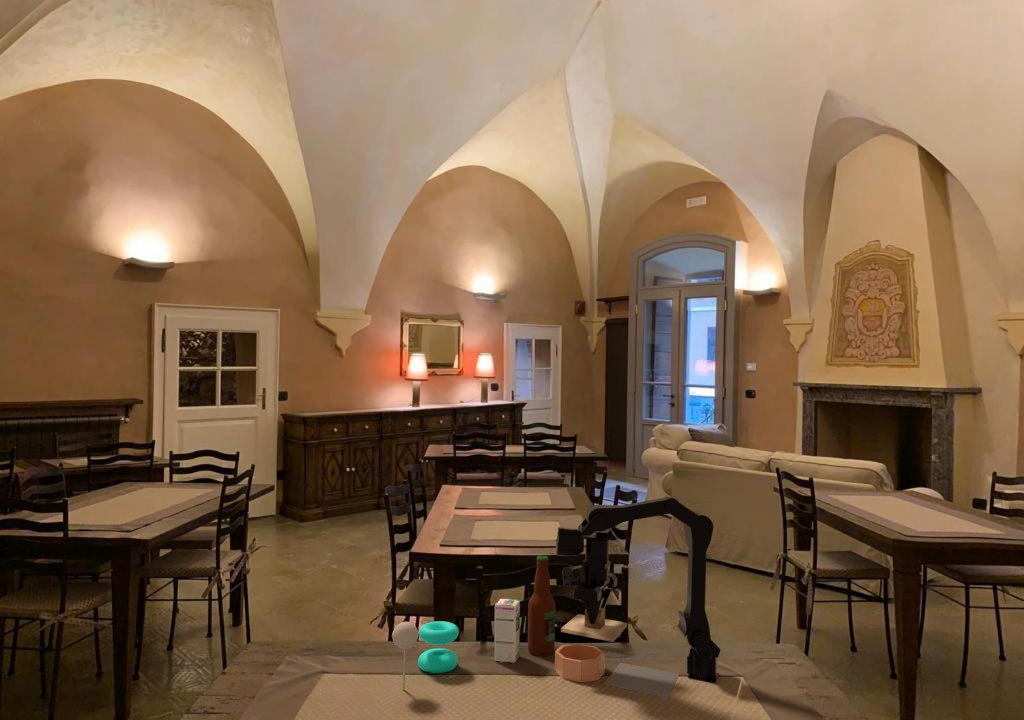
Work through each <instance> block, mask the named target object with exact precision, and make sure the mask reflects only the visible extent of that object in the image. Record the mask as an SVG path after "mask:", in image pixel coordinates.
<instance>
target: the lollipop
mask: <svg viewBox="0 0 1024 720" xmlns="http://www.w3.org/2000/svg"><path fill="white" fill-rule="evenodd" d="M419 637H420V636H419V629H418V628H417V627H416V625H415V624H414V623H412V622H409V621H402V622H400V623H399V624H397V625H396V626H395V627H394V629H393V631H392V635H391V638H392V641H393V643H394V645H395V647H396V648H398V649H401V650H403V665H402V669H403V670H402V691H405V690H406V689H405V687H406V686H405V685H406V682H405V681H406V658H407V650H409V649H411V648H412V647H414V646H415V645H416V643H417V642H418V638H419Z"/></svg>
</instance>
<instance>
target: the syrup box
mask: <svg viewBox="0 0 1024 720" xmlns="http://www.w3.org/2000/svg"><path fill="white" fill-rule="evenodd" d="M520 602H521V600H519V599H515V598H514V599H513V598H499V600H498V601H497V602H496V603H495V605H494V638H493V639H494V641H493V642H494V647H493V648H494V649H493V650H494V656H493V657H494V658H493V660H494V662H496V661H516V659H517V658H518V659H519V657H520V655H521V653H520V652H521V650H520V649H521V647H520V646H521V644H520V643H521V642H520V641H521V636H520V635H521V620H520V617H521V614H520V613H521V610H520V609H521V603H520ZM518 659H517V660H518ZM516 662H517V661H516Z"/></svg>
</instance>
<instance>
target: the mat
mask: <svg viewBox="0 0 1024 720" xmlns="http://www.w3.org/2000/svg"><path fill="white" fill-rule="evenodd" d="M614 670H615V671H614ZM614 670H613V672H612V673H611V674H612V675H611V674H610V676H609V677H608V678H607V679H606V681H605V682H604V683H603V686H608V687H613V688H619V689H623V690H628V691H633V692H636V693H637V692H638V693H643V694H647V695H651V696H652V695H653V696H658V697H662V698H667V699H668V698H669V697H670V693H671V691H672V690H673V688H674V686H675V684H676V682H677V680H678V678H679V676H680V673H678V672H673V671H668V670H667V671H666V670H662V669H657V668H651V667H645V666H642V665H641V666H640V665H635V664H629V663H625V662H624V663H623V662H619V664H618V665H617V667H616V668H614Z"/></svg>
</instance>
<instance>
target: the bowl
mask: <svg viewBox="0 0 1024 720" xmlns="http://www.w3.org/2000/svg"><path fill="white" fill-rule="evenodd" d="M605 655H606V653H605V652H604V651H603V650H601V649H600V648H599V647H597V646H595V645H588V644H583V643H570V644H562V645H560V646H559V647H558V648H557V649H556V650H554V672H555V671H556V672H557V673H558V674H559V675H558V674H557V673H556V672H555V673H556V674H557V675H558V676H560V678H562V679H564V680H568V681H573V682H577V683H578V682H579V683H586V682H593V681H599V680H600V679H601V678H602V677H601V676H603V675H604V674H605V663H606V662H605Z"/></svg>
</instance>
